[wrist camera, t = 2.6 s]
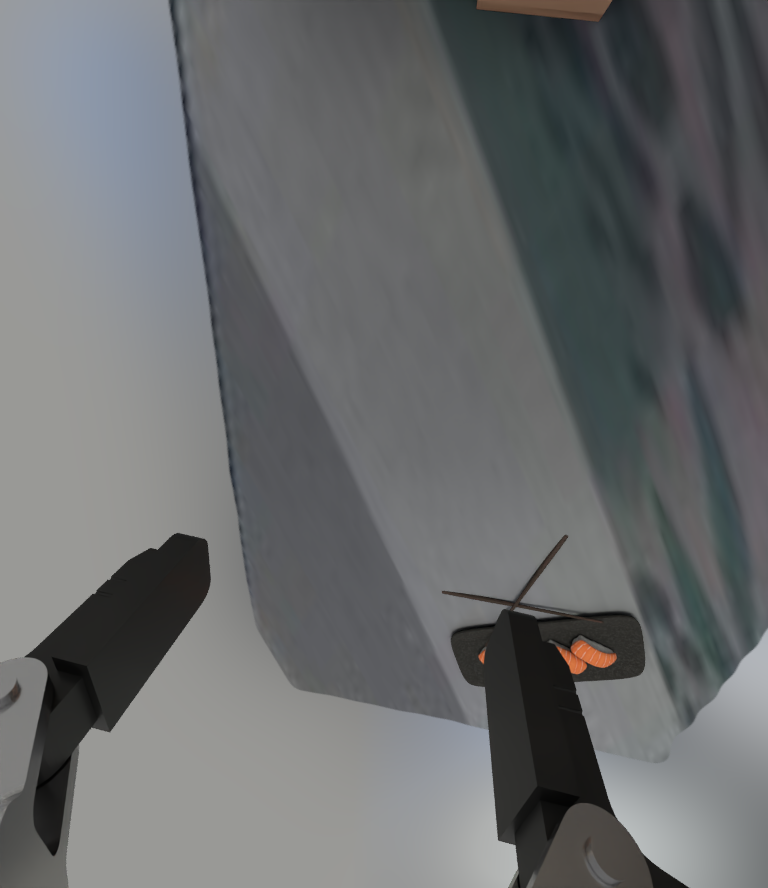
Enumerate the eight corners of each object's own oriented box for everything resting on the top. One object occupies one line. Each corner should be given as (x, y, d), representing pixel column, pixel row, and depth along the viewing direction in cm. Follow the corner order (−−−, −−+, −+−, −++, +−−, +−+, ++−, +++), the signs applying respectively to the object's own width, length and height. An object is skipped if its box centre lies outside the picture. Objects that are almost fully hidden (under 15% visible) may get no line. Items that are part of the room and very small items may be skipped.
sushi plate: (466, 678, 70) (467, 699, 67) (419, 555, 59) (418, 573, 56) (642, 666, 62) (653, 690, 59) (626, 522, 51) (639, 541, 48)
